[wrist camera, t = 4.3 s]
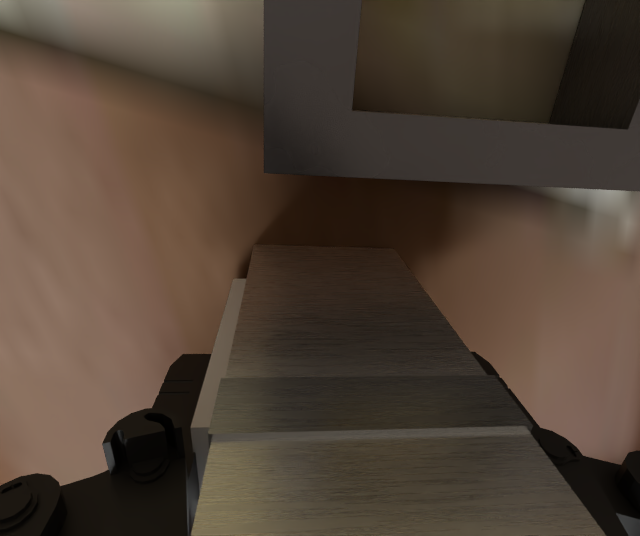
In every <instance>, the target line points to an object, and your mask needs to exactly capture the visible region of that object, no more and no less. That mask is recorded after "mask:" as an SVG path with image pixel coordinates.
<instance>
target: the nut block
mask: <svg viewBox="0 0 640 536" xmlns="http://www.w3.org/2000/svg"><path fill="white" fill-rule="evenodd" d="M532 427H533V425H532V424H531V422H530V421H529V420H528V418H527V417H526V416H525V414H524V413H523V412H522V411H521V409H520V408H519V407H518V405H517V404H516V403H515V401H514V400H513V399H512V398H511V396H510V395H509V394H508V392H507V391H506V390H505V388H504V387H503V386H502V384H501V383H500V382H499V381H498V379H497V378H496V377H495V375H487V374H486V372H485V371H484V370H483V368H482V367H481V366H480V364H479V363H478V362H477V360H476V359H475V358H474V356H473V355H472V353H471V352H470V351H469V349H468V348H467V347H466V345H465V344H464V343H463V341H462V340H461V339H460V337H459V336H458V335H457V333H456V332H455V330H454V329H453V328H452V326H451V325H450V324H449V322H448V321H447V320H446V318H445V317H444V316H443V314H442V313H441V312H440V310H439V309H438V308H437V306H436V305H435V303H434V302H433V301H432V299H431V298H430V297H429V295H428V294H427V293H426V291H425V290H424V289H423V287H422V286H421V285H420V283H419V282H418V280H417V279H416V278H415V276H414V275H413V274H412V272H411V271H410V270H409V268H408V267H407V266H406V264H405V263H404V262H403V260H402V259H401V257H400V256H399V255H398V253H397V252H396V251H395V249H394V248H363V247H327V246H291V245H255V244H254V246H253V251H252V256H251V260H250V265H249V269H248V274H247V279H246V283H245V288H244V293H243V297H242V302H241V306H240V311H239V316H238V320H237V325H236V329H235V334H234V339H233V343H232V348H231V353H230V357H229V362H228V366H227V371H226V376H225V378H221V380H220V384H219V388H218V393H217V397H216V401H215V405H214V410H213V414H212V418H211V423H210V427H209V431H208V441H209V454H208V459H207V463H206V468H205V472H204V477H203V482H202V486H201V491H200V495H199V500H198V505H197V509H196V514H195V519H194V523H193V528H192V532H191V536H606V535H605V533H604V532H603V531H602V529H601V528H600V527H599V525H598V524H597V522H596V521H595V520H594V518H593V517H592V516H591V514H590V513H589V512H588V510H587V509H586V508H585V506H584V505H583V504H582V502H581V501H580V499H579V498H578V497H577V495H576V494H575V493H574V491H573V490H572V489H571V487H570V486H569V485H568V483H567V482H566V481H565V479H564V478H563V477H562V475H561V474H560V472H559V471H558V470H557V468H556V467H555V466H554V464H553V463H552V462H551V460H550V459H549V458H548V456H547V455H546V454H545V452H544V451H543V449H542V448H541V447H540V445H539V444H538V443H537V441H536V440H535V439H534V437H533V436H532V435H531V433H530V432H531V430H532Z"/></svg>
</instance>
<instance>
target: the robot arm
mask: <svg viewBox="0 0 640 536" xmlns="http://www.w3.org/2000/svg"><path fill="white" fill-rule="evenodd" d="M245 283H246V279H233V282H232V285H231V289H230V292H229V296H228V299H227V303H226V306H225V309H224V313H223V316H222V320H221V323H220V327H219V330H218V334H217V337H216V341H215V344H214V348H213V351H212V354H183V355H182V356H180V357H179V358H178V359H177V360H176V361H175V362H174V363H173V364H172V365H171V366H170V368H169V370H168V372H167V375H166V377H165V379H164V383H163V384H162V386H161V389H160V391H159V395H158V396H157V398H156V400H155V402H154V405H153V407H152V408H149V409H143V410H140V411H137V412H134V413H131V414H129V415H128V416H126V417H124V418H123V419H121V420H119V421H118V422H117V423H116V424H115V425H114V426H113V427H112V428H111V429H110V430H109V431H108V432H107V435H106V437H105V439H104V441H103V443H102V445H103V449H104V453H105V457H106V461H107V464H108V468H109V470H107V471H105V472H103V473H100V474H98V475H95V476H93V477H90V478H86V479H83V480H80V481H76V482H73V483H70V484H67V485H63V486H60V485H59V482H58V481H57V480H55V479H54V478H53V477H52V476H51V475H45V474H38V473H36V474H31V475H26V476H21V477H18V478H16V479H14V480H12V481H9V482H7V483H5V484H3V485H1V486H0V536H191V532H192V528H193V523H194V519H195V514H196V509H197V505H198V500H199V495H200V491H201V486H202V482H203V477H204V472H205V468H206V463H207V459H208V454H209V441H208V431H209V427H210V423H211V418H212V414H213V410H214V405H215V401H216V397H217V393H218V388H219V384H220V380H221V378H225V376H226V371H227V366H228V362H229V357H230V353H231V348H232V343H233V339H234V334H235V329H236V325H237V320H238V316H239V311H240V306H241V302H242V297H243V293H244V288H245ZM471 353H472V355H473V356H474V358H475V359H476V360H477V362H478V363H479V364H480V366H481V367H482V368H483V370H484V371H485V372H486V374H487V375H495V377H496V378H497V379H498V381H499V382H500V383H501V384H502V386H503V387H504V388H505V390H506V391H507V392H508V394H509V395H510V396H511V398H512V399H513V400H514V401H515V403H516V404H517V405H518V407H519V408H520V409H521V411H522V412H523V413H524V414H525V416H526V417H527V418H528V420H529V421H530V422H531V424H532V425H533V427H532V430H531V432H530V433H531V435H532V436H533V437H534V439H535V440H536V441H537V443H538V444H539V445H540V447H541V448H542V449H543V451H544V452H545V454H546V455H547V456H548V458H549V459H550V460H551V462H552V463H553V464H554V466H555V467H556V468H557V470H558V471H559V472H560V474H561V475H562V477H563V478H564V479H565V481H566V482H567V483H568V485H569V486H570V487H571V489H572V490H573V491H574V493H575V494H576V495H577V497H578V498H579V499H580V501H581V502H582V504H583V505H584V506H585V508H586V509H587V510H588V512H589V513H590V514H591V516H592V517H593V518H594V520H595V521H596V522H597V524H598V525H599V527H600V528H601V529H602V531H603V532H604V533H605V535H606V536H640V451H634V452H630V453H628V455H627V456H626V458H625V460H624V461H623V463H622V465H618V464H614V463H610V462H606V461H602V460H598V459H594V458H589V457H586V456H583V455H582V454H581V452H580V451H579V450H578V449H577V447H576V446H574V445H573V444H572V443H571V442H569V441H568V440H567V439H566V438H564V437H562V436H560V435H558V434H557V433H555V432H553V431H550V430H546V429H543V428H540V427H539V425H538V424H537V423H536V422H535V420H534V419H533V418H532V416H531V415H530V414H529V413H528V411H527V410H526V409H525V408H524V406H523V405H522V404H521V402H520V401H519V400H518V399H517V397H516V396H515V395H514V393H513V392H512V391H511V390H510V389H508V386H507V385H506V383H505V382H504V381H503V379H502V378H500V377H499V374H498V373H497V372H496V370H495V369H494V368H493V367H492V365H491V364H490V363H489V362H488V361H486V360H485V359H484V358H482V357H481V356H480V355H478V354H477V353H475V352H471Z"/></svg>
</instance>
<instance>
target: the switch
mask: <svg viewBox="0 0 640 536" xmlns="http://www.w3.org/2000/svg"><path fill="white" fill-rule="evenodd" d="M361 4H362V0H264V173H272V174H293V175H314V176H335V177H355V178H376V179H397V180H418V181H438V182H459V183H480V184H501V185H522V186H542V187H563V188H584V189H605V190H625V191H640V0H586V2H585V5H584V8H583V12H582V15H581V18H580V22H579V25H578V29H577V32H576V35H575V39H574V42H573V45H572V49H571V52H570V55H569V59H568V62H567V66H566V69H565V72H564V76H563V79H562V82H561V86H560V89H559V92H558V96H557V99H556V103H555V106H554V109H553V113H552V116H551V119H550V123H541V122H526V121H511V120H497V119H482V118H467V117H452V116H438V115H423V114H408V113H393V112H379V111H364V110H352V104H353V93H354V82H355V70H356V59H357V48H358V37H359V26H360V15H361Z"/></svg>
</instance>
